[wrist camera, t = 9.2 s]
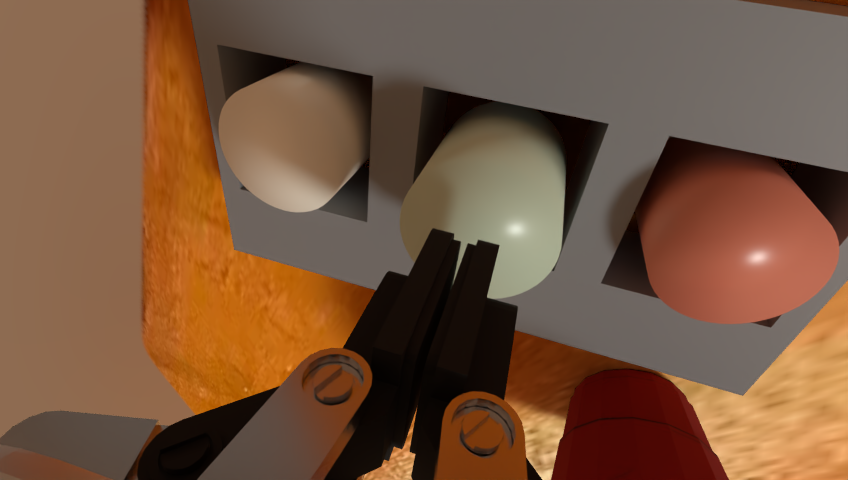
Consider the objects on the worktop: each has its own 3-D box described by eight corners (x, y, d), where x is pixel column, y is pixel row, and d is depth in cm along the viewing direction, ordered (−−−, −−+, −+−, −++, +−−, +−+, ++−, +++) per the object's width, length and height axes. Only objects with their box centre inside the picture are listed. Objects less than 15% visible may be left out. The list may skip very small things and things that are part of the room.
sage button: (450, 89, 15) (406, 143, 11) (584, 116, 14) (585, 183, 10) (434, 201, 17) (394, 276, 14) (546, 228, 17) (537, 315, 13)
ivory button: (289, 42, 17) (207, 72, 14) (395, 62, 17) (340, 101, 13) (296, 146, 20) (229, 195, 16) (388, 167, 19) (340, 225, 15)
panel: (254, -81, 16) (172, -85, 12) (934, 18, 12) (1058, 48, 9) (282, 205, 23) (234, 249, 20) (716, 319, 19) (742, 395, 16)
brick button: (661, 115, 15) (689, 176, 11) (803, 142, 14) (883, 218, 10) (614, 221, 18) (624, 300, 14) (732, 249, 17) (776, 340, 13)
